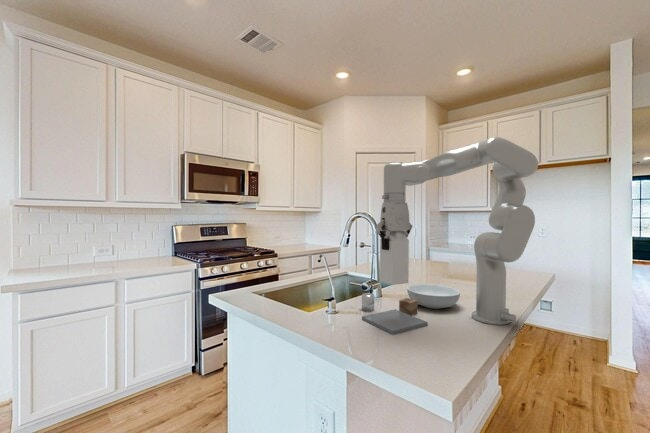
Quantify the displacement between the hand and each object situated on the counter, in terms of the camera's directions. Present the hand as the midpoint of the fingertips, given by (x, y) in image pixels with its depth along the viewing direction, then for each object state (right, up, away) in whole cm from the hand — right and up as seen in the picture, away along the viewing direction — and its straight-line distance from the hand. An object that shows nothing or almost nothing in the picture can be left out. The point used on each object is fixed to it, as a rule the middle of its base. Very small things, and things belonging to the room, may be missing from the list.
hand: (394, 248), depth 110 cm
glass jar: (-7, -26, +15) cm, 31 cm away
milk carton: (0, -12, 0) cm, 12 cm away
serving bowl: (+21, -26, +21) cm, 39 cm away
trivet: (0, -26, 0) cm, 26 cm away
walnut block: (+8, -26, +11) cm, 29 cm away
